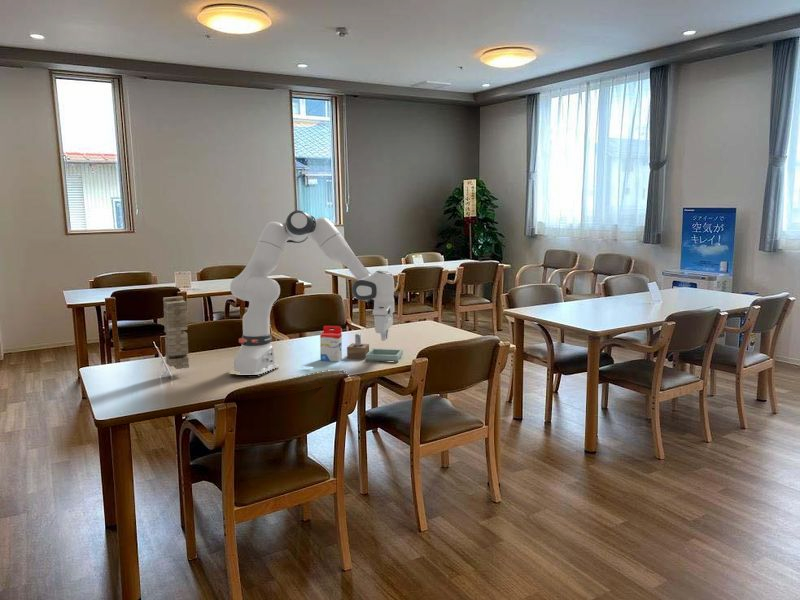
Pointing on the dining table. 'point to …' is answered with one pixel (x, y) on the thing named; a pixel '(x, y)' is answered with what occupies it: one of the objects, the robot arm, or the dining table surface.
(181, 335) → the tower
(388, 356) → the tray
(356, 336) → the pin gauge
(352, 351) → the brown wooden box
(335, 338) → the ink box
